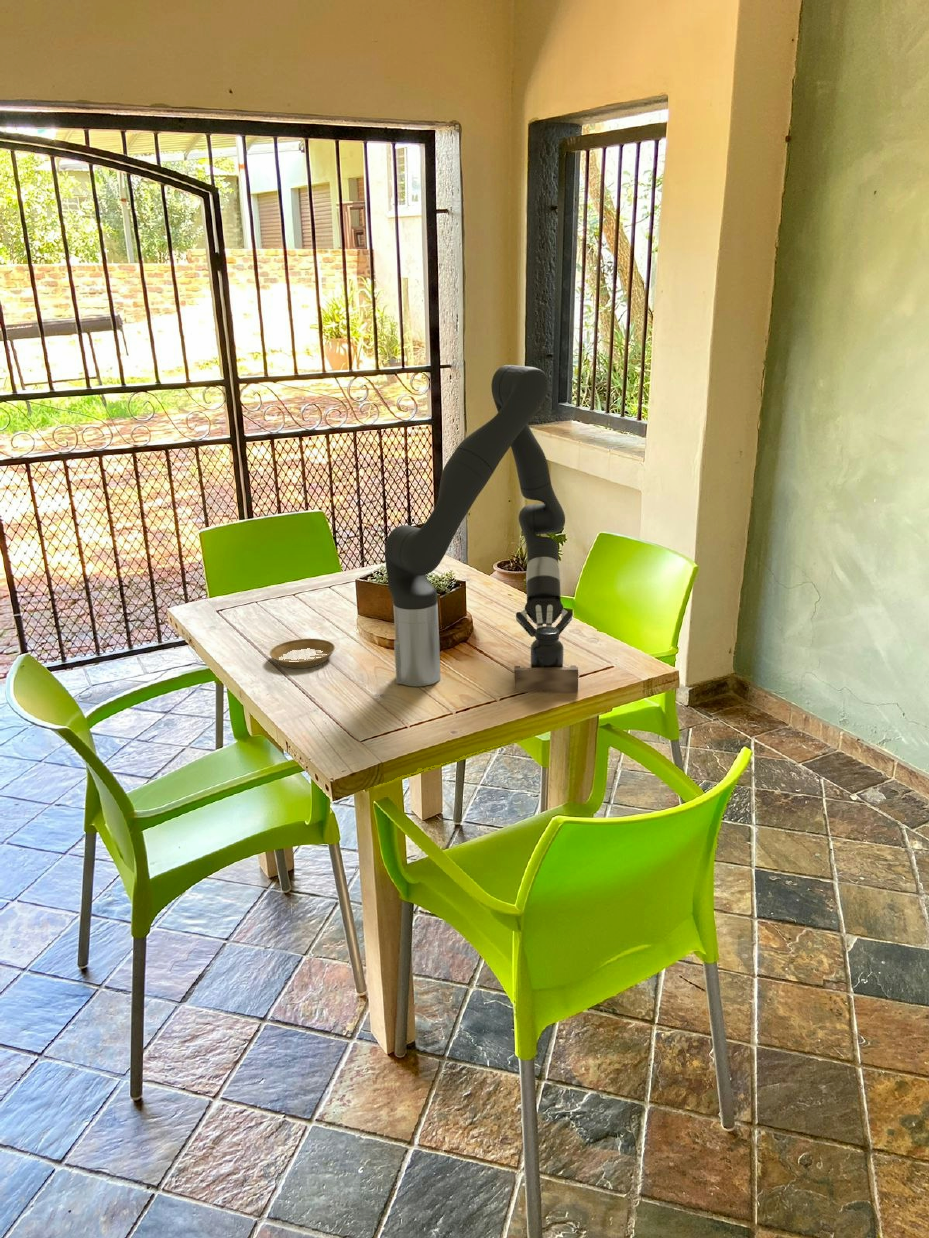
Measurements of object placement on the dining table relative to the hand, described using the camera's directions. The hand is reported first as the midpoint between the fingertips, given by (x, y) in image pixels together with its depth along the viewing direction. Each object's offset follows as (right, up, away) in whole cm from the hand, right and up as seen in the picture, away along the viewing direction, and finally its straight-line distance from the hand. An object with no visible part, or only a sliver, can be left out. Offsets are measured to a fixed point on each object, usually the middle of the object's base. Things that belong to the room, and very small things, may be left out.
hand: (545, 653), depth 193 cm
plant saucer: (-54, -2, +13) cm, 56 cm away
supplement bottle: (0, -6, -4) cm, 8 cm away
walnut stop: (0, -6, -5) cm, 8 cm away
